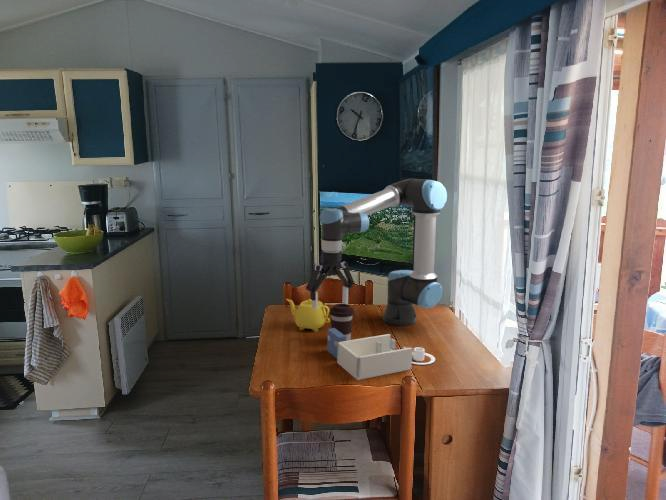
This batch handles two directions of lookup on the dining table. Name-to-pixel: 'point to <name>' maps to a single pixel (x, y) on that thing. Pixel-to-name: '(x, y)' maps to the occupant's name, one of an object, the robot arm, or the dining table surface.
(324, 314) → the teapot
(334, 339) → the blue flat block
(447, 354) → the dining table surface
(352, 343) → the box
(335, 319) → the coffee cup
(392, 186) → the robot arm
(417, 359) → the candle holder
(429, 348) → the dining table surface
